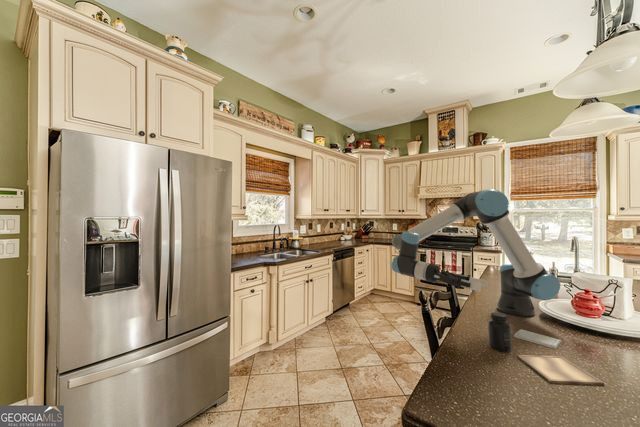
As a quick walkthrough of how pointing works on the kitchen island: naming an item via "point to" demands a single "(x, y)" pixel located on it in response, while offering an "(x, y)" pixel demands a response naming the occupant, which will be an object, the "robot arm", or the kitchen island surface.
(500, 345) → the supplement bottle
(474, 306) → the kitchen island surface
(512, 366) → the kitchen island surface
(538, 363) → the cork mat
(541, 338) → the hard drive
